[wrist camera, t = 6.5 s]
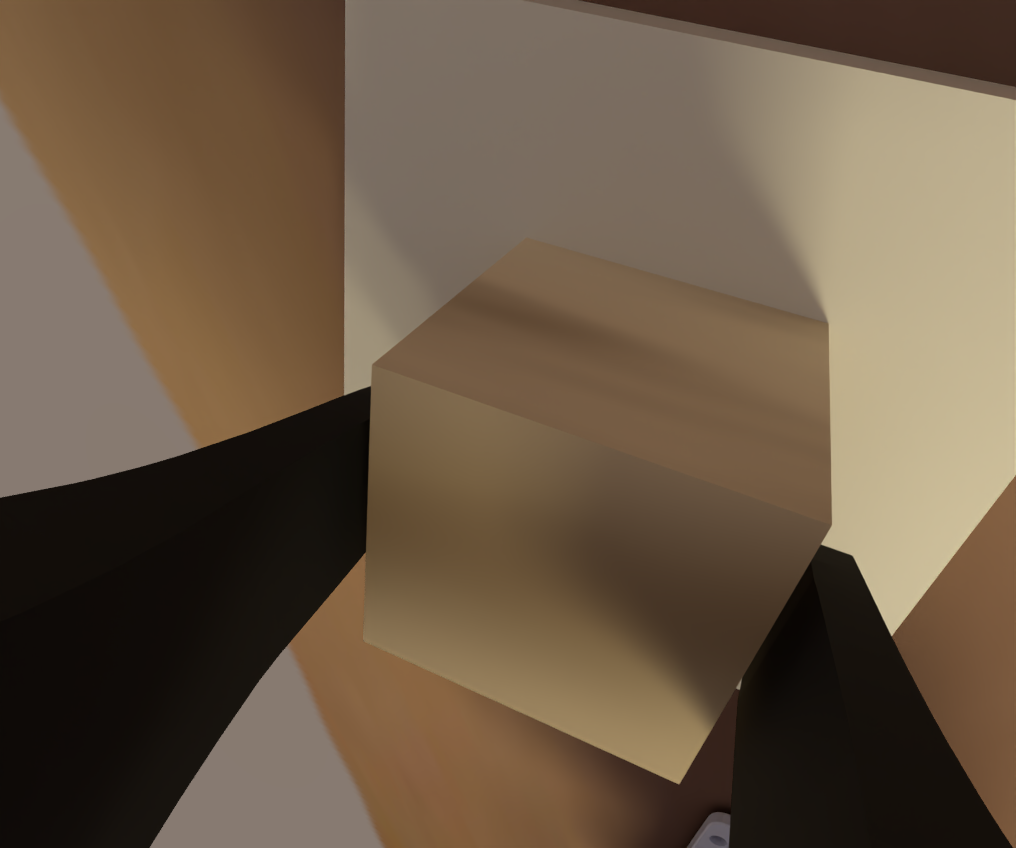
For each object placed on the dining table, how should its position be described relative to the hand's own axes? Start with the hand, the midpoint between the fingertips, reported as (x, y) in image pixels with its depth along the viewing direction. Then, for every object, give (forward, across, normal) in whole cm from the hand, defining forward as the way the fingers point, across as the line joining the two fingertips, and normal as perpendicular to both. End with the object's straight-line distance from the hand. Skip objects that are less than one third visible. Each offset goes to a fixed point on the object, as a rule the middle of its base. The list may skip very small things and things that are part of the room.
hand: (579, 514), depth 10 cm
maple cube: (+3, 0, 0) cm, 3 cm away
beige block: (+6, 0, 0) cm, 6 cm away
